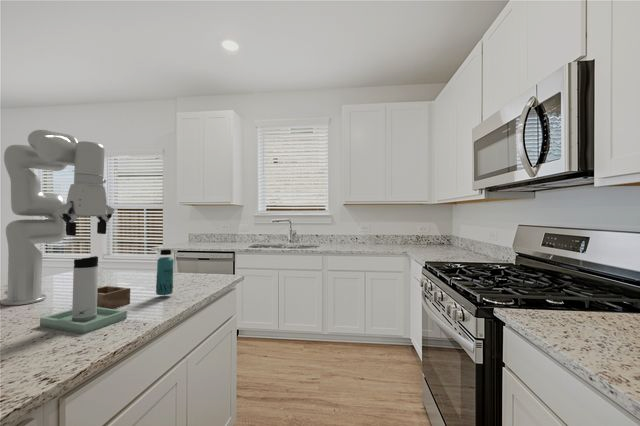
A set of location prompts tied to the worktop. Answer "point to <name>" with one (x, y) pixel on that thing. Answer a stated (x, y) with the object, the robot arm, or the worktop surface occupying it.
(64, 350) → the worktop surface
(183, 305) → the worktop surface
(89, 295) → the travel mug
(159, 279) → the beverage bottle
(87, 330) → the tray
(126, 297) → the box
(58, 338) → the worktop surface
